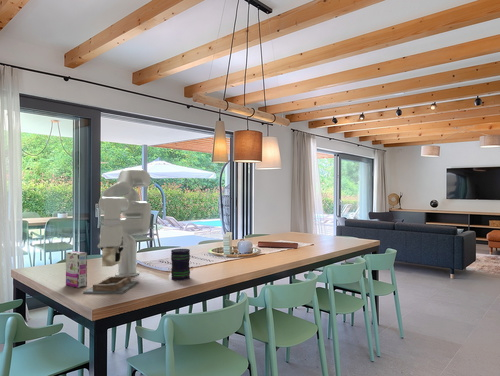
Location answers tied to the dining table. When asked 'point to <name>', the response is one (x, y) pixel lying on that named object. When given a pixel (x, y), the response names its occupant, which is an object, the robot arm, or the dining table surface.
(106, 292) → the slot board
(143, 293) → the dining table surface
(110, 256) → the ash block
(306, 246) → the dining table surface
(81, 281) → the candy bar box
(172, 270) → the storage jar
